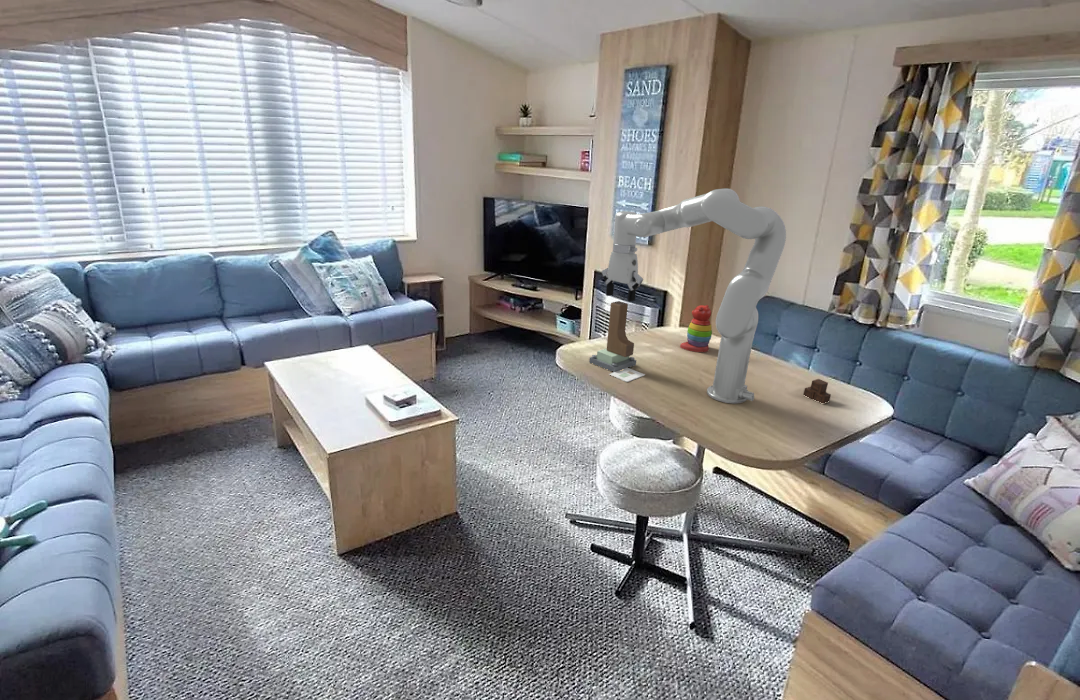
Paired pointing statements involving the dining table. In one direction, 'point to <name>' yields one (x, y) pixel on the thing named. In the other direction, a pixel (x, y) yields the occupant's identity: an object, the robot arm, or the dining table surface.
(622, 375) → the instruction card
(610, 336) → the wooden block
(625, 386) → the dining table surface
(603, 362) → the baseplate
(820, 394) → the stack of crates
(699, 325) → the stacking bear
